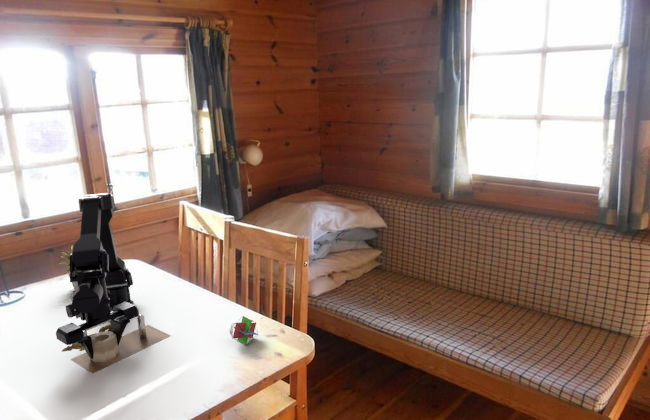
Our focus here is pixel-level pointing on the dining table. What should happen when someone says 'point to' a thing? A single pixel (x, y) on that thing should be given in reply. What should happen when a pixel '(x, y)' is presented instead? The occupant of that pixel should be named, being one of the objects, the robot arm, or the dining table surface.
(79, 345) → the olive gold carved ornament
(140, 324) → the steel post
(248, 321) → the geometric puzzle
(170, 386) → the dining table surface
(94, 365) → the board
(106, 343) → the beech bead
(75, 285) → the house plant
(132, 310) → the robot arm
